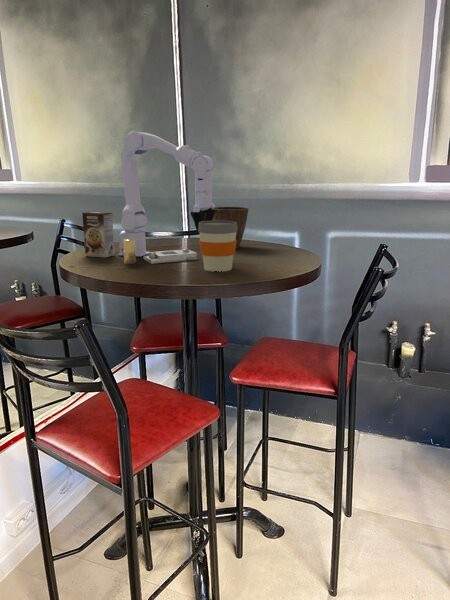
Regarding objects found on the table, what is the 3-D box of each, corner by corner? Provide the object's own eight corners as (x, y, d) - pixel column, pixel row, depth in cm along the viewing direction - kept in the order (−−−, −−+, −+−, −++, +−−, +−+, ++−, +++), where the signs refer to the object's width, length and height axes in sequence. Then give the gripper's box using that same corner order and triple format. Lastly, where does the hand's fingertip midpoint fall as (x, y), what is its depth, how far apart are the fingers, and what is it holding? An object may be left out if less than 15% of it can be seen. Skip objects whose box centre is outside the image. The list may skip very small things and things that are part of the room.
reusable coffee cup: (200, 264, 159) (199, 220, 155) (237, 264, 159) (237, 220, 155) (197, 272, 147) (196, 224, 143) (237, 272, 147) (237, 224, 143)
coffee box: (84, 256, 175) (81, 212, 170) (95, 253, 180) (91, 210, 176) (105, 257, 172) (102, 213, 167) (115, 254, 177) (112, 211, 173)
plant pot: (213, 244, 202) (212, 206, 197) (247, 244, 201) (248, 206, 197) (210, 250, 187) (210, 209, 183) (248, 250, 187) (248, 209, 182)
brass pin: (122, 263, 161) (120, 240, 159) (128, 261, 165) (126, 238, 162) (132, 264, 160) (130, 241, 158) (138, 262, 163) (136, 239, 161)
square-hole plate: (151, 263, 161) (150, 254, 160) (143, 259, 169) (143, 250, 168) (196, 259, 168) (196, 250, 167) (187, 255, 176) (187, 246, 175)
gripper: (206, 193, 154) (207, 234, 158) (221, 191, 168) (221, 229, 171) (187, 192, 157) (188, 233, 160) (202, 190, 170) (203, 228, 174)
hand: (203, 231), depth 166 cm, fingers open, 7 cm apart
